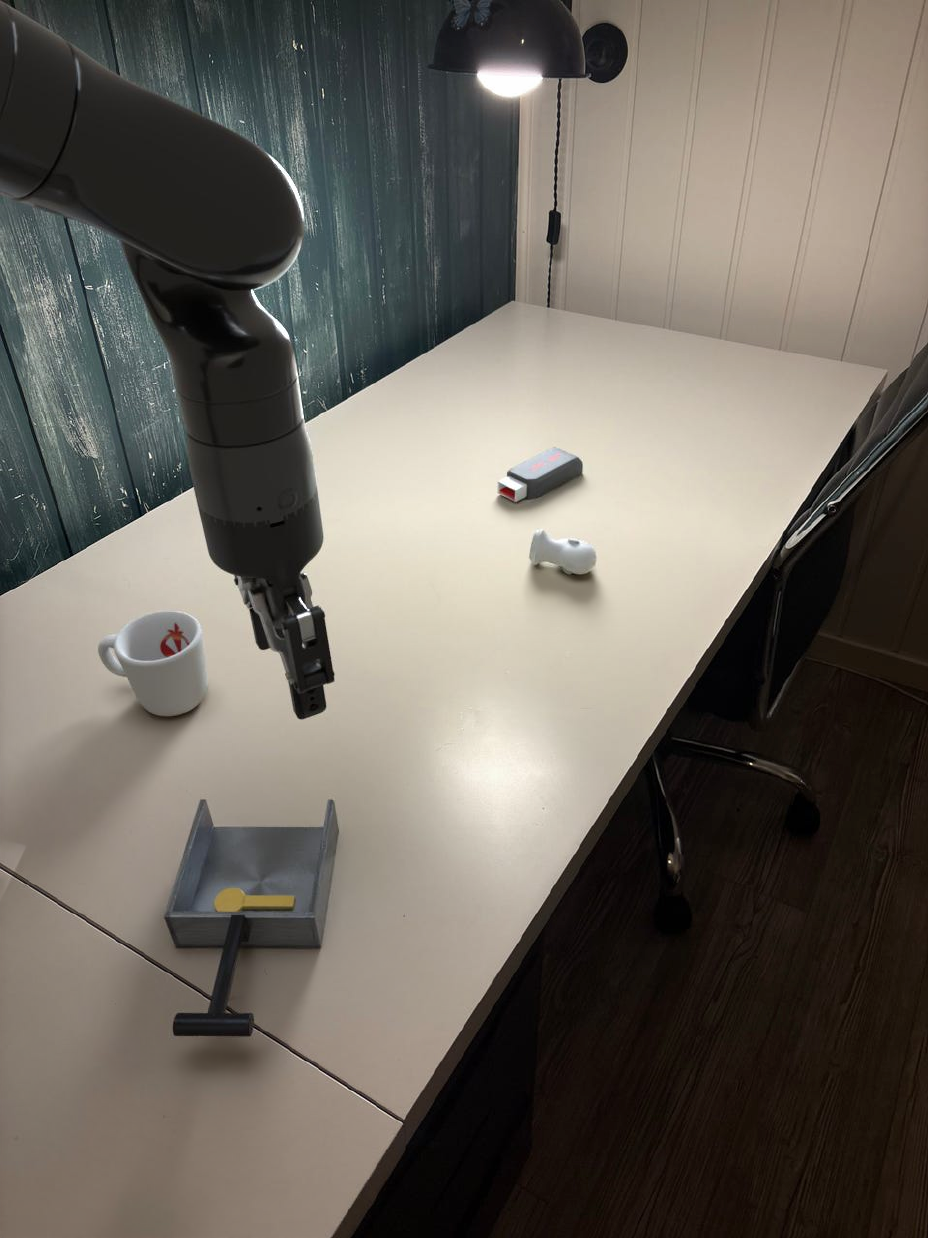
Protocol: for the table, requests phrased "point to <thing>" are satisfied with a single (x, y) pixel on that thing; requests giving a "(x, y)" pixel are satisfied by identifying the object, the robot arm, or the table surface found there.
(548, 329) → the table surface
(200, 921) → the metal dustpan with handle
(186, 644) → the cup
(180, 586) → the table surface
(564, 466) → the usb drive
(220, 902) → the yellow spoon
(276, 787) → the table surface
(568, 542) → the smooth white sculpture
